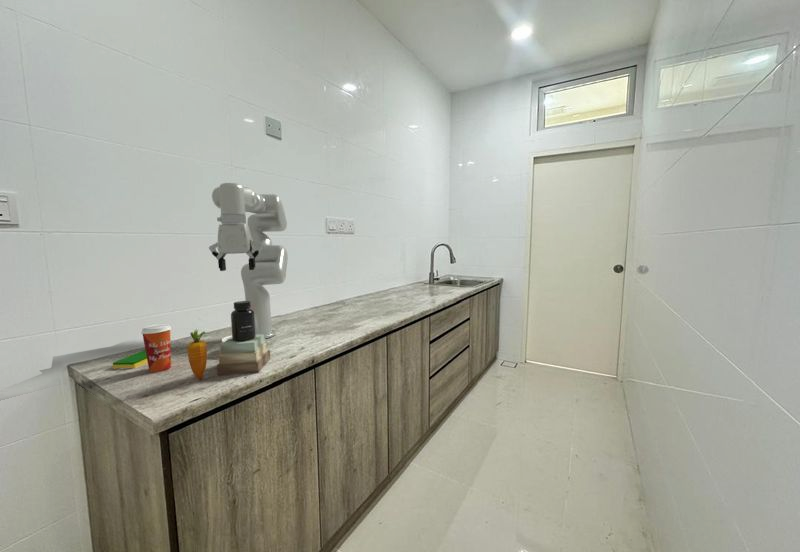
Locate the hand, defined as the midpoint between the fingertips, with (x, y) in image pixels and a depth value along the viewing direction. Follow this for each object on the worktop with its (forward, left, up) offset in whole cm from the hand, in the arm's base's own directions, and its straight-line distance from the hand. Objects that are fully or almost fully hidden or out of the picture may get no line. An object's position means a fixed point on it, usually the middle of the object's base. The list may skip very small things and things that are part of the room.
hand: (237, 270), depth 113 cm
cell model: (-5, -4, -31) cm, 31 cm away
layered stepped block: (+12, +5, -30) cm, 33 cm away
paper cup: (+10, -22, -31) cm, 39 cm away
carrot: (+21, -5, -31) cm, 37 cm away
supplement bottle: (+12, +5, -22) cm, 25 cm away
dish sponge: (+1, -34, -31) cm, 46 cm away
